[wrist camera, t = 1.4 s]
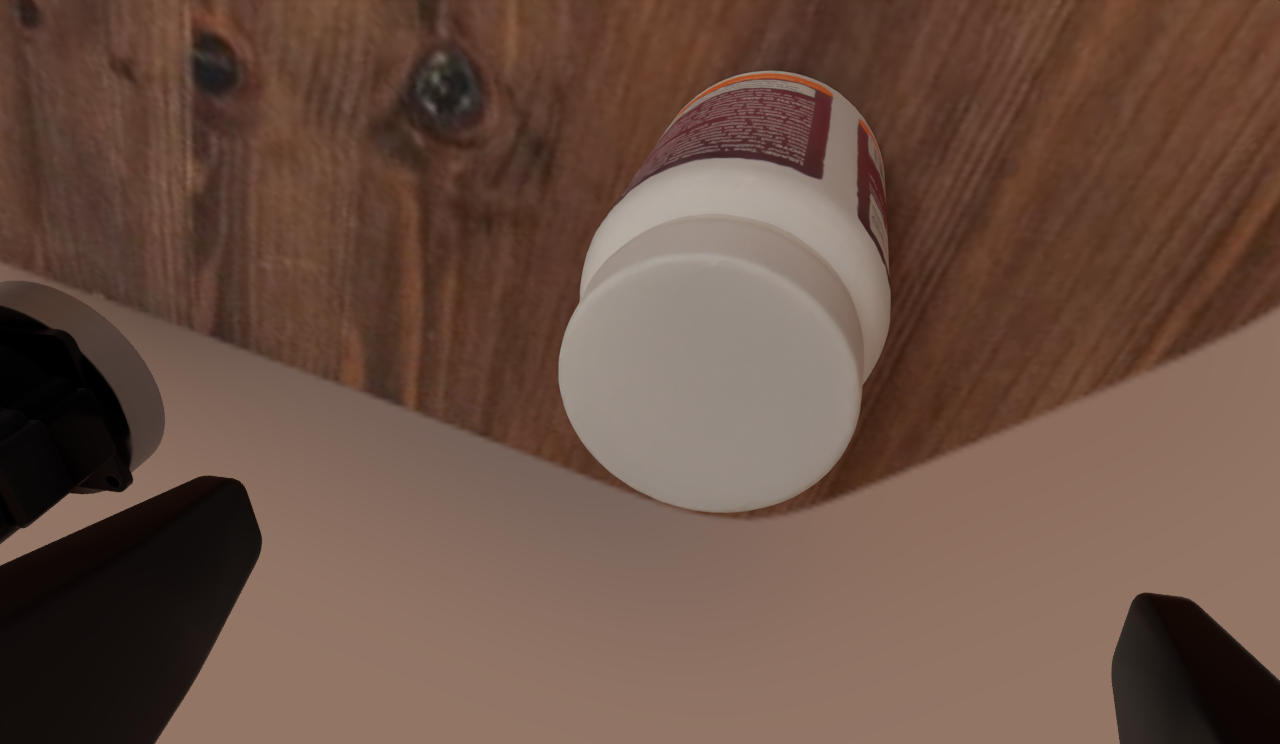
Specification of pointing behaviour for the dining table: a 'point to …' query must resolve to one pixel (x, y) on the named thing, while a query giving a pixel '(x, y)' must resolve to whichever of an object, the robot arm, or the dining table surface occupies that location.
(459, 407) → the dining table surface
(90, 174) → the dining table surface
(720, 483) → the pill bottle
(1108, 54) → the dining table surface
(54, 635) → the robot arm
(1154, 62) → the dining table surface
